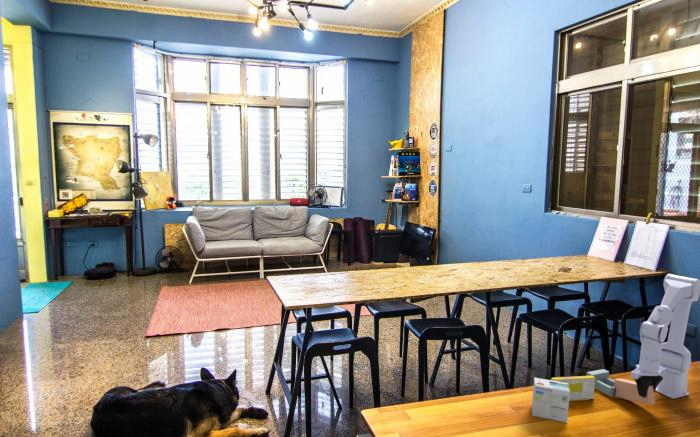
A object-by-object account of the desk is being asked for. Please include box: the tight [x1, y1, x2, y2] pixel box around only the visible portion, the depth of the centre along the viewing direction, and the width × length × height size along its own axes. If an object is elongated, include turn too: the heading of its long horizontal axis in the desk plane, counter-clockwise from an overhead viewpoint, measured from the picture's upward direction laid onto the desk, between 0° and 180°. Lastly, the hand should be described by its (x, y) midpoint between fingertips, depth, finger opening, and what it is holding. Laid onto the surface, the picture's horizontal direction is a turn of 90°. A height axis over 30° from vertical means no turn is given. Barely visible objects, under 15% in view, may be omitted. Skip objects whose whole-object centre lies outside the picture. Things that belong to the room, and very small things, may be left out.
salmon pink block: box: [613, 378, 656, 406], centre depth 157 cm, size 3×12×6 cm, turn 22°
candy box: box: [550, 375, 595, 402], centre depth 158 cm, size 16×2×8 cm, turn 99°
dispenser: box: [586, 368, 616, 398], centre depth 167 cm, size 9×10×5 cm
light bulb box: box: [531, 376, 570, 424], centre depth 147 cm, size 11×7×11 cm, turn 71°
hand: (645, 395), depth 153 cm, fingers closed on salmon pink block, 3 cm apart
